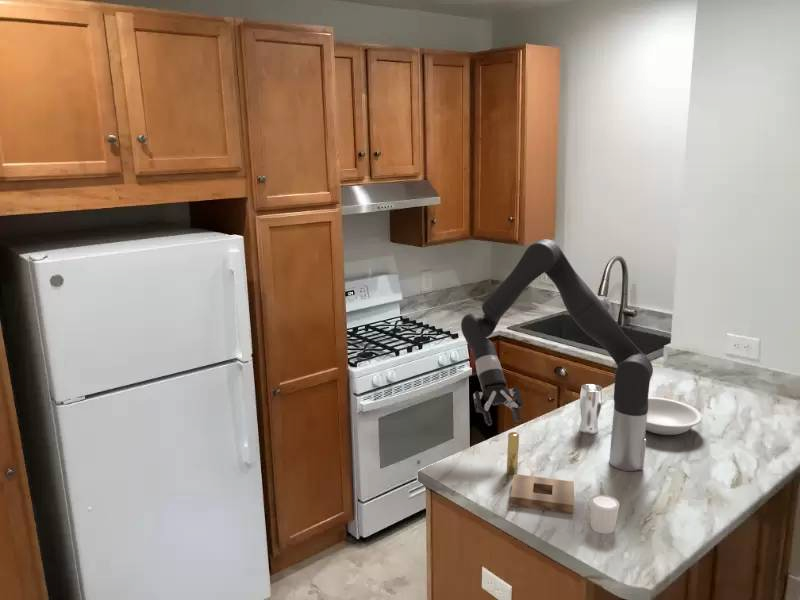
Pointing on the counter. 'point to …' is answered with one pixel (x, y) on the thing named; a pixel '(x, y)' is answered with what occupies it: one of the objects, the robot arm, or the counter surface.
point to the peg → (512, 453)
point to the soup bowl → (670, 416)
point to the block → (556, 502)
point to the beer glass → (590, 408)
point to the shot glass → (603, 513)
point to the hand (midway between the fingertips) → (504, 423)
